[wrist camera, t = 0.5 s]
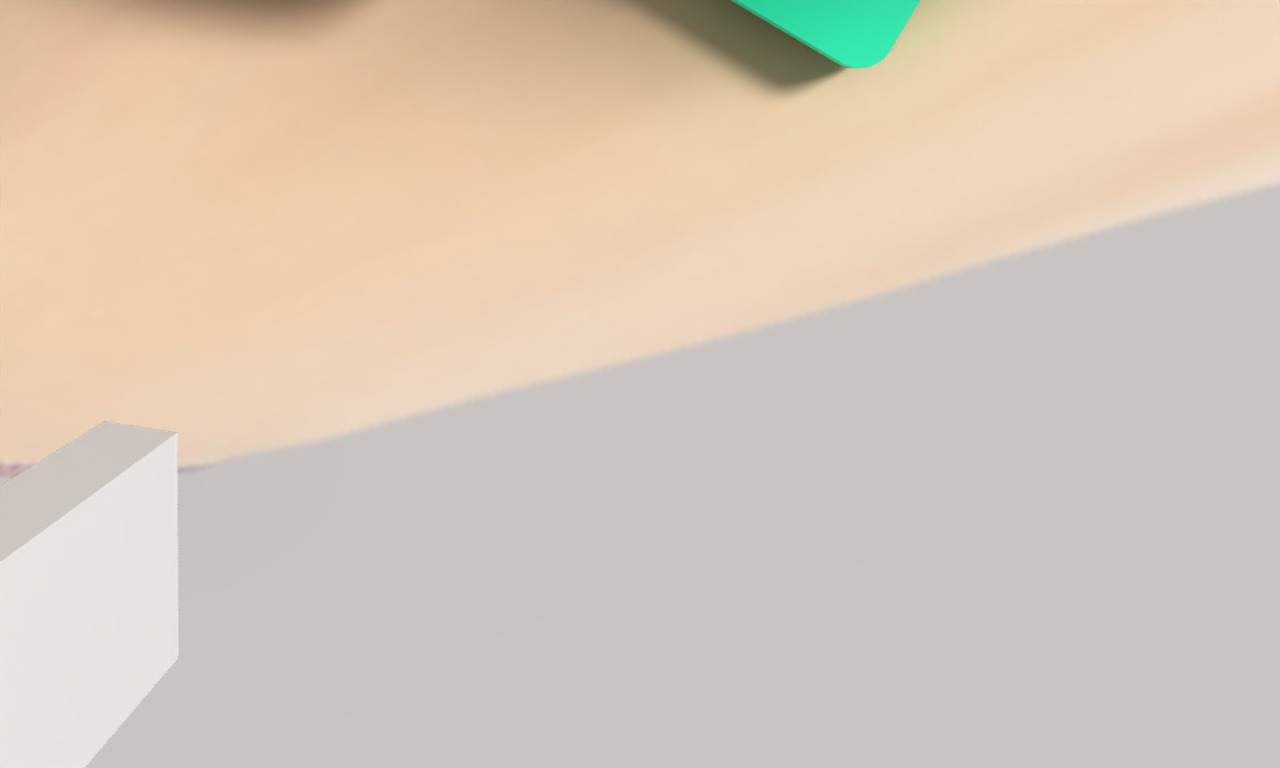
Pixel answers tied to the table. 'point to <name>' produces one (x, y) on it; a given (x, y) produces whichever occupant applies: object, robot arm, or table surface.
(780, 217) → the table surface
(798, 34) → the camera mount
